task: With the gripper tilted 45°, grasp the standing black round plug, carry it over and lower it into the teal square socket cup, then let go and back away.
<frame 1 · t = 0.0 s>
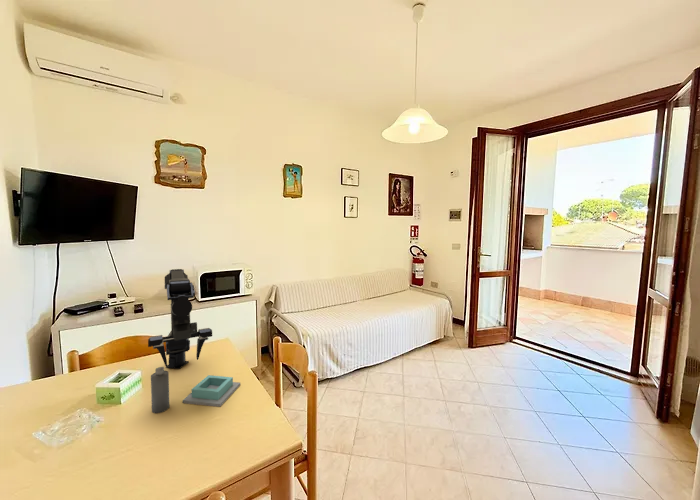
hand: (182, 362, 99), 15 cm above the table, tool pointing down, fingers open, 9 cm apart
plug: (160, 408, 98), on the table
socket: (213, 393, 108), on the table
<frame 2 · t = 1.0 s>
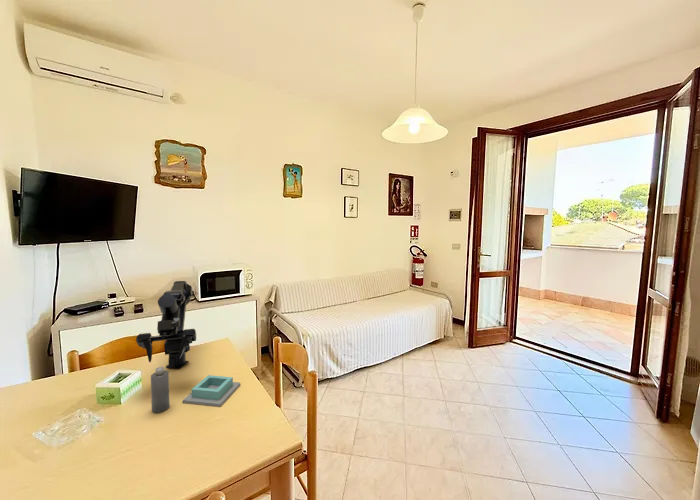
hand: (164, 360, 105), 13 cm above the table, tool tilted 45°, fingers open, 9 cm apart
nothing on the table moved.
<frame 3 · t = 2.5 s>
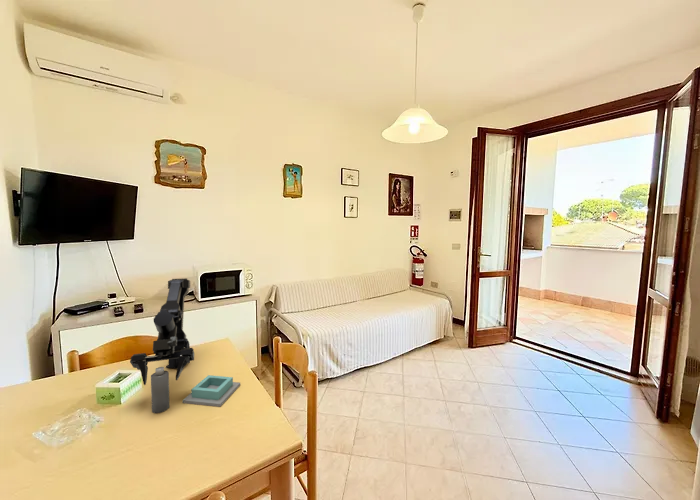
hand: (160, 382, 99), 9 cm above the table, tool tilted 45°, fingers open, 9 cm apart
nothing on the table moved.
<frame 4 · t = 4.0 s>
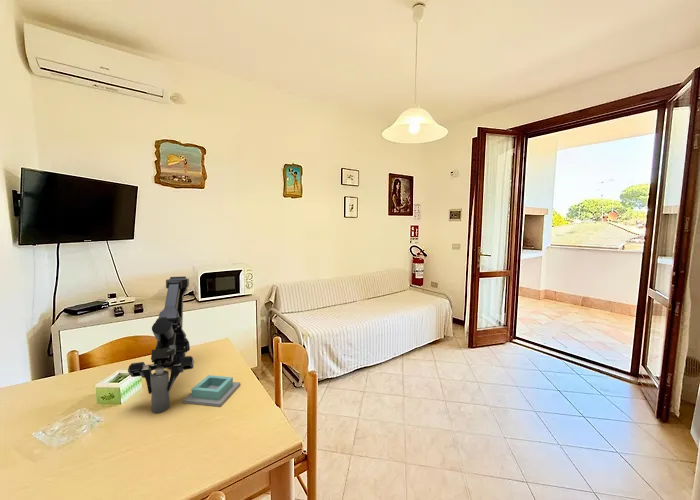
hand: (159, 392, 96), 7 cm above the table, tool tilted 45°, fingers closed on plug, 5 cm apart
plug: (160, 408, 98), on the table, touching gripper
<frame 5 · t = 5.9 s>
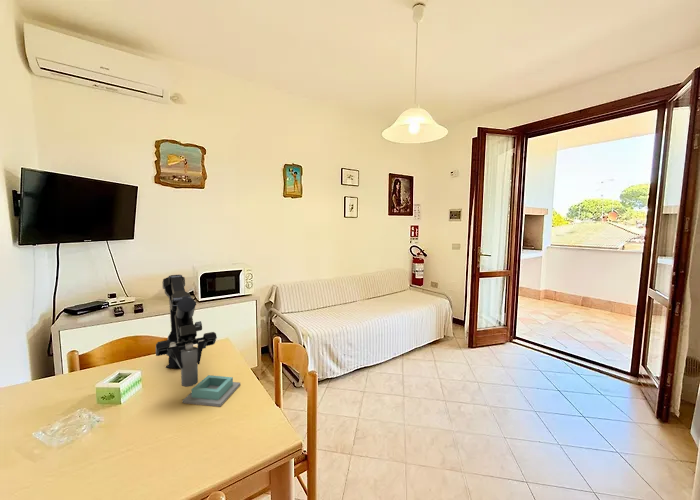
hand: (190, 366, 100), 13 cm above the table, tool tilted 45°, fingers closed on plug, 5 cm apart
plug: (189, 382, 102), point 7 cm above the table, touching gripper
when the fingers open (9 cm above the table, at t = 8.0 s): plug drops 1 cm, resting on socket.
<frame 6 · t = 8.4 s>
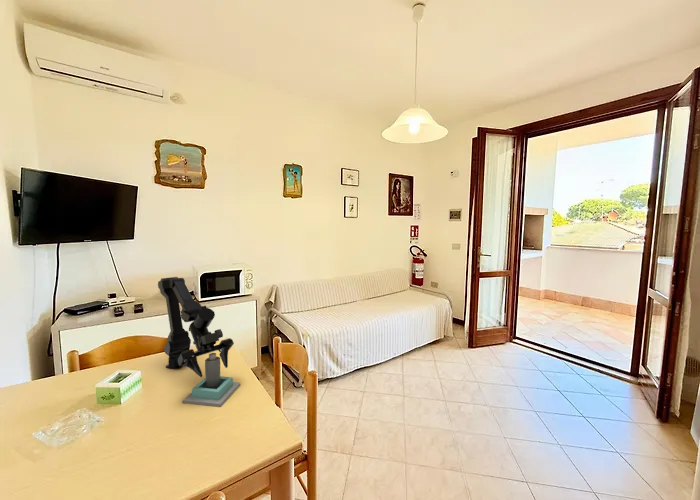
hand: (214, 371, 106), 9 cm above the table, tool tilted 45°, fingers open, 9 cm apart
plug: (213, 390, 108), point 1 cm above the table, touching socket
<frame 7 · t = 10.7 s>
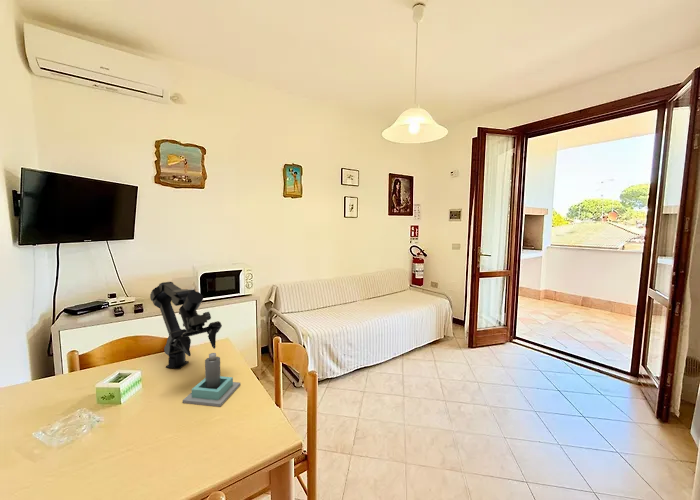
hand: (202, 351, 112), 14 cm above the table, tool tilted 45°, fingers open, 9 cm apart
nothing on the table moved.
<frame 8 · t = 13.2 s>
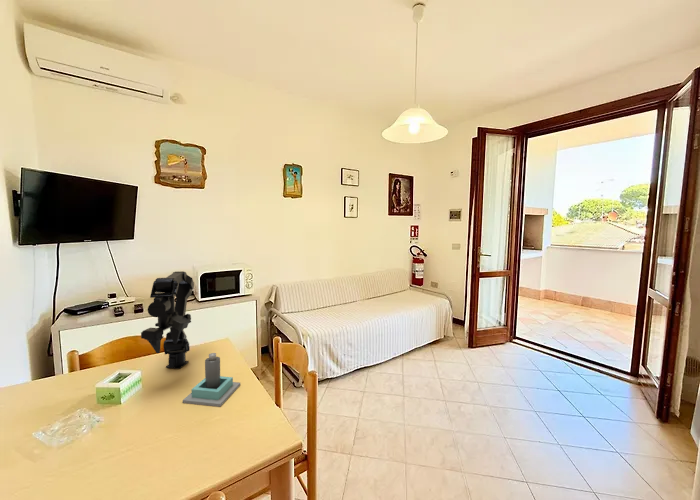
hand: (167, 348, 115), 13 cm above the table, tool pointing down, fingers open, 9 cm apart
nothing on the table moved.
at the end: plug 0.0 cm off-centre on the socket, point 1.0 cm above the socket's base; plug tilted 1°; the gripper is holding nothing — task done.
